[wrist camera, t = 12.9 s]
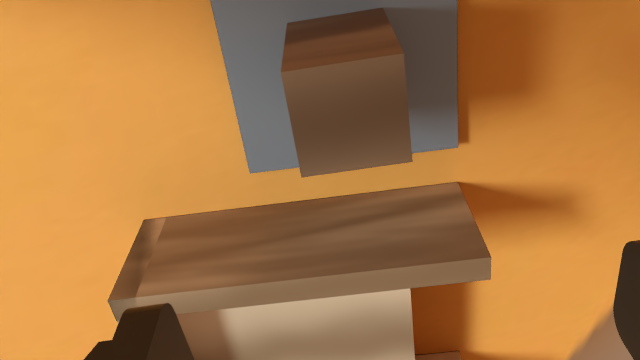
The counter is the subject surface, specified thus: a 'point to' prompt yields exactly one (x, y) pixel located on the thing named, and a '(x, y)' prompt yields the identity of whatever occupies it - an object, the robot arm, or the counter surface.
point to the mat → (308, 3)
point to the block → (346, 92)
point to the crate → (305, 273)
